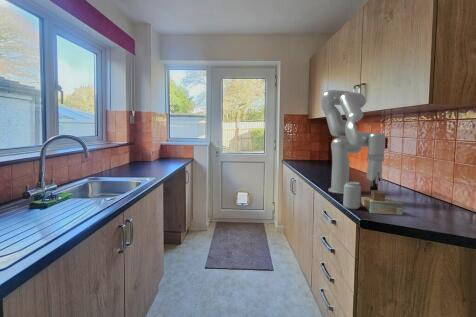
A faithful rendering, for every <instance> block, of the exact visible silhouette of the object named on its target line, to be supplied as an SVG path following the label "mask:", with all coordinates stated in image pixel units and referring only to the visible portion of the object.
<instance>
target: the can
mask: <svg viewBox="0 0 476 317" xmlns="http://www.w3.org/2000/svg"><path fill="white" fill-rule="evenodd" d="M361 194H362V186H361V182H357V181H349V182H346V184H345V185H344V194H343V196H342V198H343V200H342V201H343V202H342V203H343V204H342V206H343V207H344V208H345V209H349V210H358V209H359V208H360V207H361V199H362V195H361Z"/></svg>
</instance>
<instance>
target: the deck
mask: <svg viewBox="0 0 476 317" xmlns="http://www.w3.org/2000/svg"><path fill="white" fill-rule="evenodd" d="M360 204H361V205H362V206H363V207H364V208H365V209H366V210H367V211H368V212H369V214H377V215H380V214H381V215H394V216H395V215H398V216H402V215H403V213H404V212H403V211H404V203H403V202H394V200H392V199H391V198H386V197H385V201H373V200H372V199H371V197H365V196H361V201H360Z"/></svg>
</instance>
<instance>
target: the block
mask: <svg viewBox="0 0 476 317" xmlns="http://www.w3.org/2000/svg"><path fill="white" fill-rule="evenodd" d="M370 198H371V199H372V200H373V201H385V198H386V192H385V191H383V190H379V189H378V190H371V194H370Z"/></svg>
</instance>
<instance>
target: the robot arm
mask: <svg viewBox="0 0 476 317" xmlns="http://www.w3.org/2000/svg"><path fill="white" fill-rule="evenodd" d="M366 102H367V101H366V97H365V95H364V94H362V93H361V92H355V91H349V90H340V89H330V90H326V91H325V92H323V94H322V96H321V102H320V103H321V108H322V111H323V113H324V116H325V118H326V122H327V126H328V129H329V130H328V131H329V133H330V135H331V136H333V137H336V138H334V139H333V140H331V143H330V148H331V157H332V159H331V160H332V162H331V163H332V164H331V185H330V187H328V192H330V193H333V194H342V195H344V185H345V184H346V182H350V181H349V180H350V158H349V157H348V154H358V153H359V152H360V151H361V150H362V148H367V161H368V162H367V169H366V170H367V171H366V179H367V180H368V181H370V183H369V184H370V187H369V194H370V195H371V190H378V191H379V182H381V181H382V178H383V162H385V146H386V144H385V143H386V134H385V133H381V132H380V133H378V132H376V133H375V132H374V133H373V132H365V131H364V132H363V131H362V132H361V131H360V132H359V130H358V127H357V125H356V123H357V122H358V121H360V120H361V119H363V117H364V112H363V111H362V108H363V107H364V106H365V105H366ZM336 106H341V108H342V111H343V113H344V115H345V118H346V120H344V119H343V117H342V113H341V111H340V109H338V107H336Z"/></svg>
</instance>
